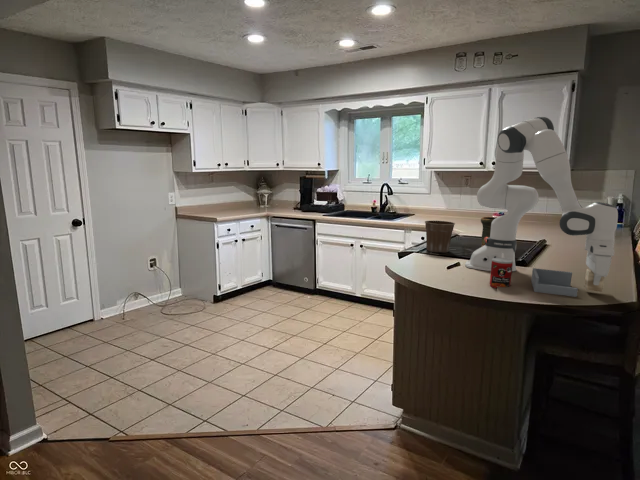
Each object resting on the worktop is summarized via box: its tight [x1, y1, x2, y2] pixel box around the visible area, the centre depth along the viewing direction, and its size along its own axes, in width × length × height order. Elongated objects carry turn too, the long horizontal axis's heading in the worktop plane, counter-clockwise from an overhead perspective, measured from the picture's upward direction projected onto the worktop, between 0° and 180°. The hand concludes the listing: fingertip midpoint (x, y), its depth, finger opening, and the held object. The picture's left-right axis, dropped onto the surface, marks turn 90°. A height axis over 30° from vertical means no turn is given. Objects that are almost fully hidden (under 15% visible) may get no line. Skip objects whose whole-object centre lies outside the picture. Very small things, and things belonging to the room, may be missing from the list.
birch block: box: [583, 268, 605, 293], centre depth 160 cm, size 5×5×7 cm
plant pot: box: [424, 220, 456, 254], centre depth 236 cm, size 16×16×16 cm
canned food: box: [489, 258, 513, 289], centre depth 169 cm, size 8×8×11 cm
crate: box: [530, 267, 578, 298], centre depth 166 cm, size 14×16×6 cm
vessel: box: [480, 216, 498, 247], centre depth 230 cm, size 14×14×20 cm
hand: (593, 282), depth 160 cm, fingers closed on birch block, 5 cm apart
